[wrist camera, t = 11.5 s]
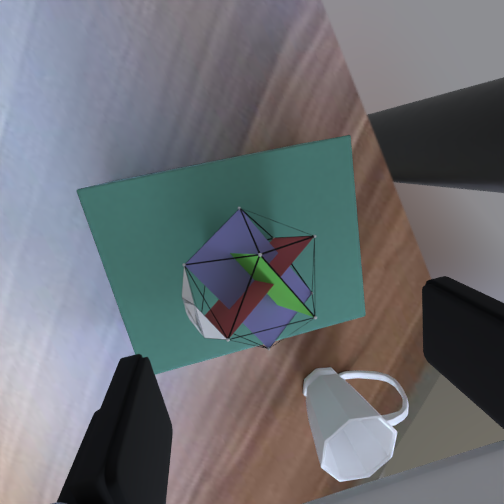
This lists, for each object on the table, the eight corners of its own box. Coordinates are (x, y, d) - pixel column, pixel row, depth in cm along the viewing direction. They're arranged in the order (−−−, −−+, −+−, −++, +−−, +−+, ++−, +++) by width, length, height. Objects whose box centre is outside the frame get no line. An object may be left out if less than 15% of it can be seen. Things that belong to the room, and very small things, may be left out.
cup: (281, 372, 32) (309, 438, 24) (368, 334, 33) (423, 386, 25) (300, 421, 34) (332, 495, 26) (382, 384, 35) (435, 446, 27)
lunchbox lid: (344, 135, 20) (351, 134, 19) (360, 311, 23) (366, 316, 23) (80, 188, 18) (75, 189, 17) (145, 370, 21) (143, 378, 21)
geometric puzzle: (286, 163, 16) (231, 258, 11) (354, 255, 19) (340, 376, 13) (202, 221, 21) (130, 310, 15) (265, 289, 23) (224, 391, 17)
